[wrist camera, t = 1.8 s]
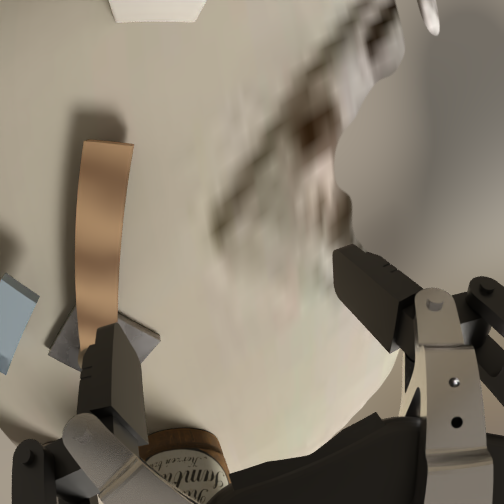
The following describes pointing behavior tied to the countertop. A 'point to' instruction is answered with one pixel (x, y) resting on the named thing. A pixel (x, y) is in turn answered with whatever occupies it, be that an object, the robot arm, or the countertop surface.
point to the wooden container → (188, 461)
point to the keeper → (13, 316)
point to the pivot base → (69, 342)
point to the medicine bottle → (156, 10)
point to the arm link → (99, 235)
